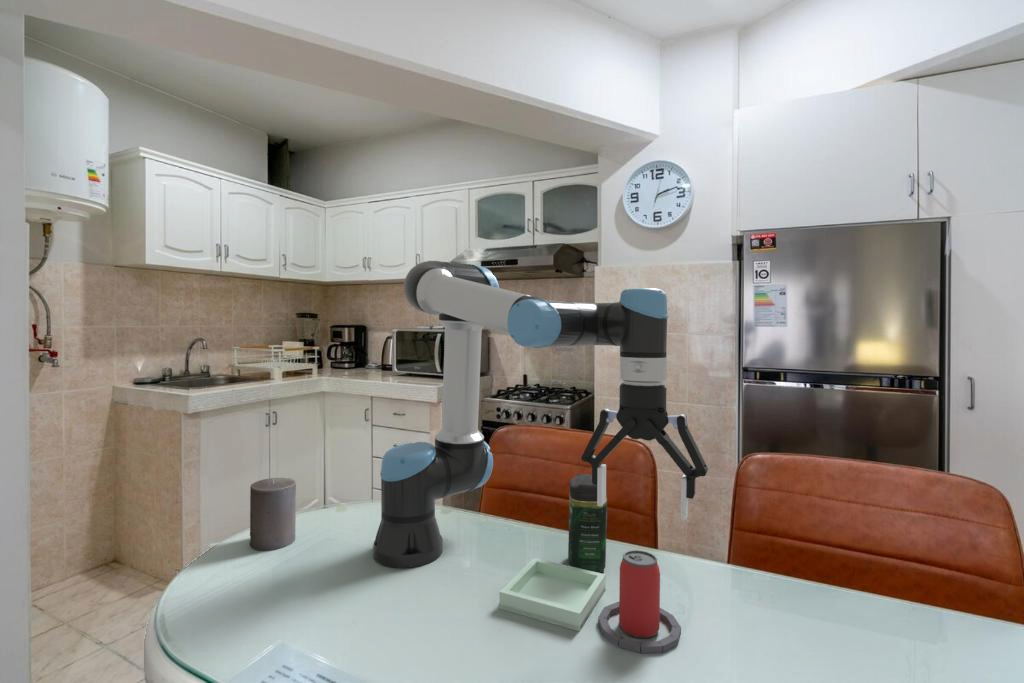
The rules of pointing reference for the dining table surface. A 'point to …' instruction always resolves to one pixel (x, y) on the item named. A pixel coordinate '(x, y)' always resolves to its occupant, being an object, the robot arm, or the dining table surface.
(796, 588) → the dining table surface
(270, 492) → the pillar candle
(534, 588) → the bin
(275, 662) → the dining table surface
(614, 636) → the socket ring
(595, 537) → the coffee jar
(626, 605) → the beer can
